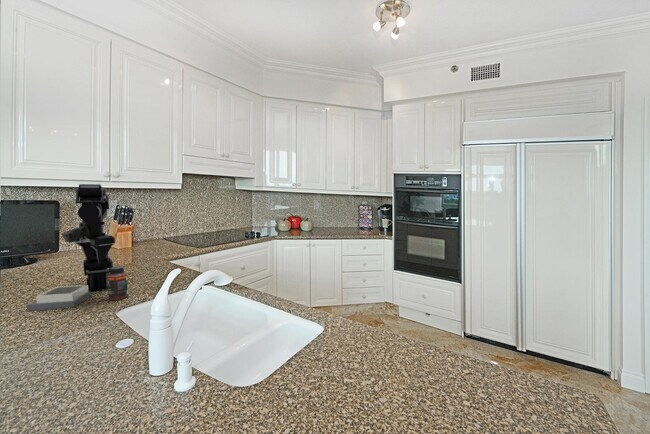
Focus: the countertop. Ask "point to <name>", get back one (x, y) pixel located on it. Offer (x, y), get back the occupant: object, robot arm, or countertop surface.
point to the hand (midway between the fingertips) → (94, 262)
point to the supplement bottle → (117, 283)
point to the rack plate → (60, 298)
